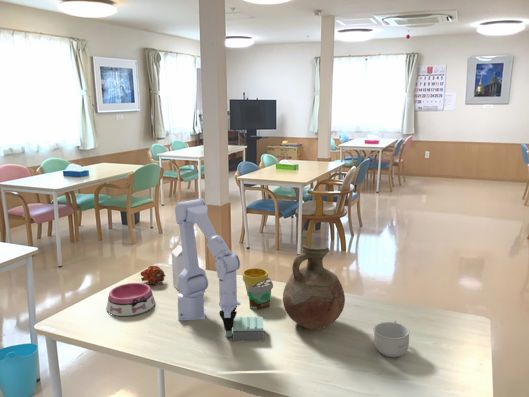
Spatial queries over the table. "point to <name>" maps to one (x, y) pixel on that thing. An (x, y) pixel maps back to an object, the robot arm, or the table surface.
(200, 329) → the table surface
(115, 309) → the dog bowl
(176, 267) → the milk carton
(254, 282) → the plant pot
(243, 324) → the teal ridged block
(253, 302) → the food container
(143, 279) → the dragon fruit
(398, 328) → the teacup
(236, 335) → the tub
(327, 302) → the jug
